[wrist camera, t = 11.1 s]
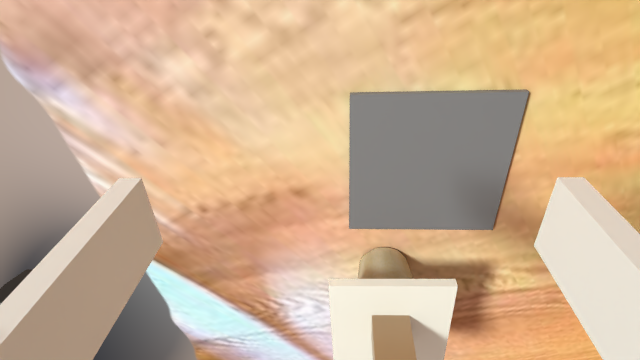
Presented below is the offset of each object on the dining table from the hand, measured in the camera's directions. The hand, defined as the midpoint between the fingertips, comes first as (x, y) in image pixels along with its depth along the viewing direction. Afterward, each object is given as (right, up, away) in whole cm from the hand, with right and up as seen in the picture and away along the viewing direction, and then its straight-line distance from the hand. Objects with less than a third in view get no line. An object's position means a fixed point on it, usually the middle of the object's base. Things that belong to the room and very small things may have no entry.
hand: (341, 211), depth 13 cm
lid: (+7, -15, +30) cm, 35 cm away
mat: (+11, +3, +29) cm, 31 cm away
